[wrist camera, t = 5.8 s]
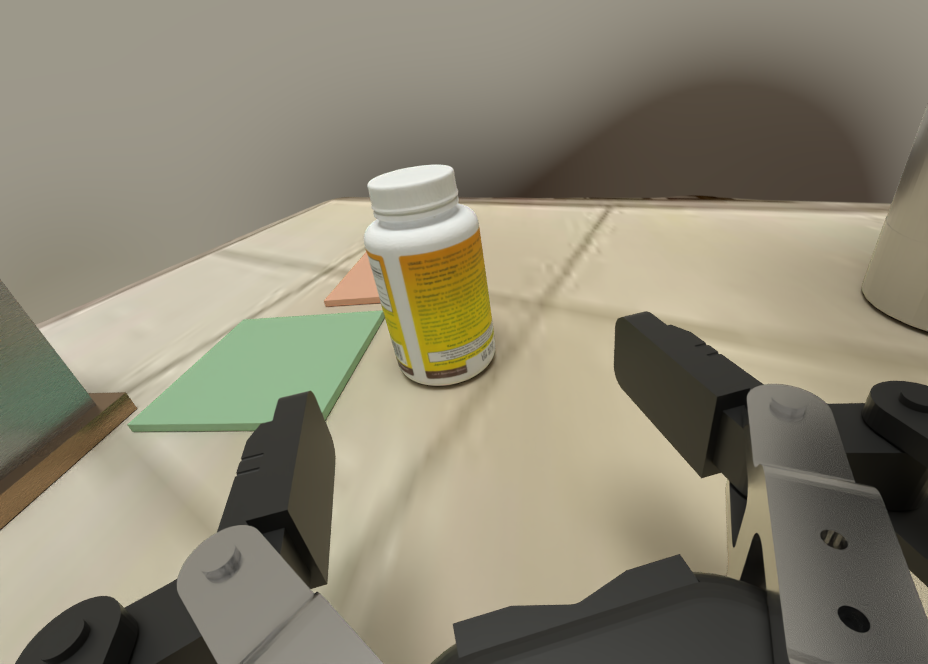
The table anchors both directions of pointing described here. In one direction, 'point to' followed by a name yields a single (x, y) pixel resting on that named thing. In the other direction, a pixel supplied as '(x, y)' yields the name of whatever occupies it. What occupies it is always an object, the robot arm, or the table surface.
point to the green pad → (263, 372)
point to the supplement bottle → (430, 275)
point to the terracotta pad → (355, 286)
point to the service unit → (42, 411)
